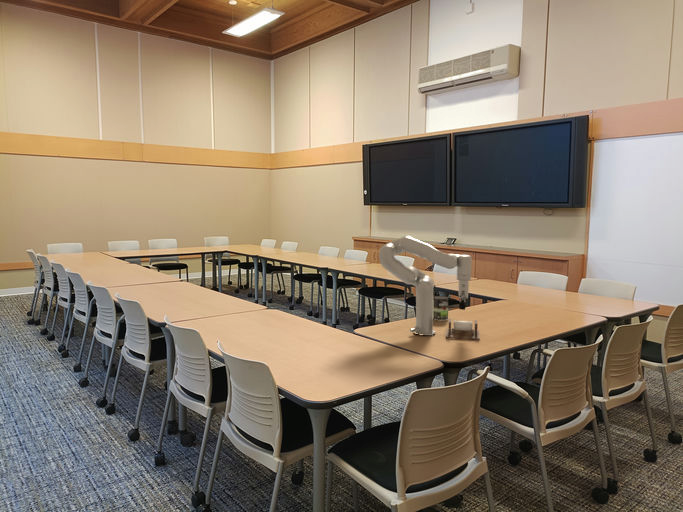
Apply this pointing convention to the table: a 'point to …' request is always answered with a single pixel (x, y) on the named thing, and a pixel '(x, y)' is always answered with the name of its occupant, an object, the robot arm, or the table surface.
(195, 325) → the table surface
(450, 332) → the roll holder
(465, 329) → the paper towel roll
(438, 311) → the coffee can
